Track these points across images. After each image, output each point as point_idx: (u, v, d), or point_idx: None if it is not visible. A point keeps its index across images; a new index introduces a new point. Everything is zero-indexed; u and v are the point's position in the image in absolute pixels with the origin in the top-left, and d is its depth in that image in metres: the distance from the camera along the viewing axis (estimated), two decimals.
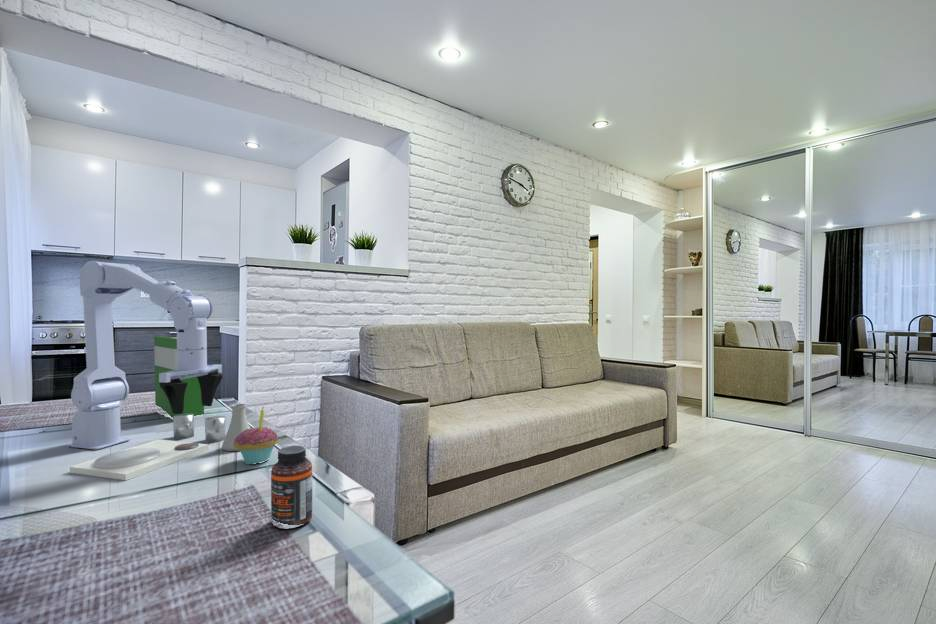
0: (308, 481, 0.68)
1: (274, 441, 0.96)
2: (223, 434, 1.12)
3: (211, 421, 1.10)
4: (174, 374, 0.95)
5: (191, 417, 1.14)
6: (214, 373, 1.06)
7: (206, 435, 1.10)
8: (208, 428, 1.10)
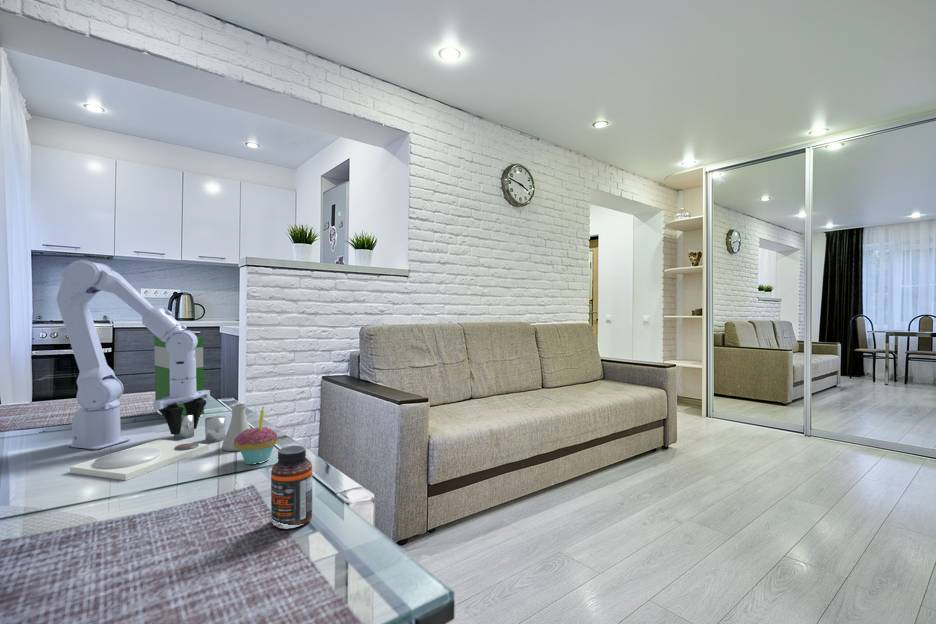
0: (308, 481, 0.68)
1: (274, 441, 0.96)
2: (223, 434, 1.12)
3: (211, 421, 1.10)
4: (167, 401, 1.09)
5: (191, 417, 1.14)
6: None
7: (206, 435, 1.10)
8: (208, 428, 1.10)
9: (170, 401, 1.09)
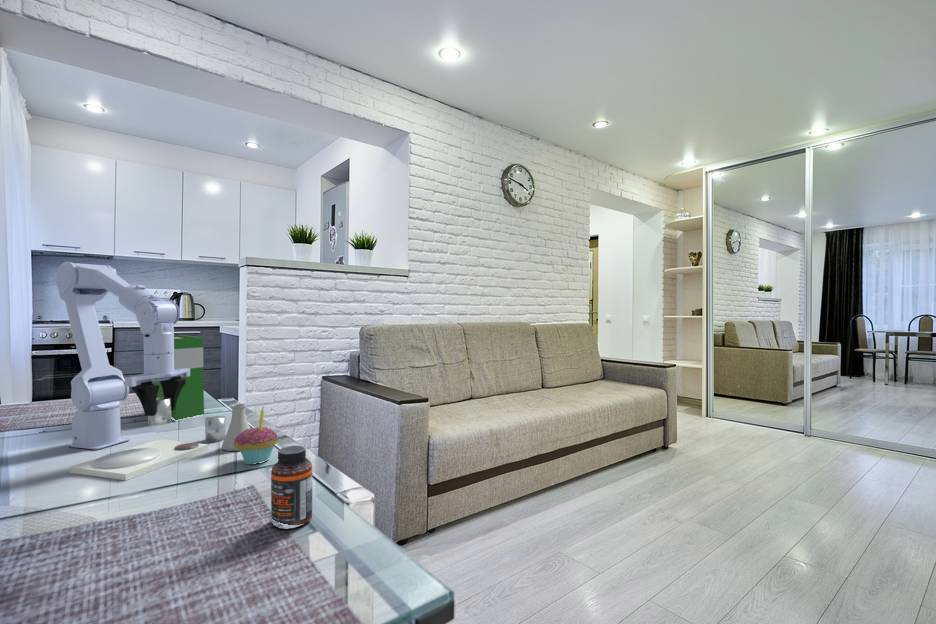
0: (308, 481, 0.68)
1: (274, 441, 0.96)
2: (223, 434, 1.12)
3: (211, 421, 1.10)
4: (140, 378, 0.97)
5: (166, 401, 1.02)
6: None
7: (206, 435, 1.10)
8: (208, 428, 1.10)
9: (144, 378, 0.97)
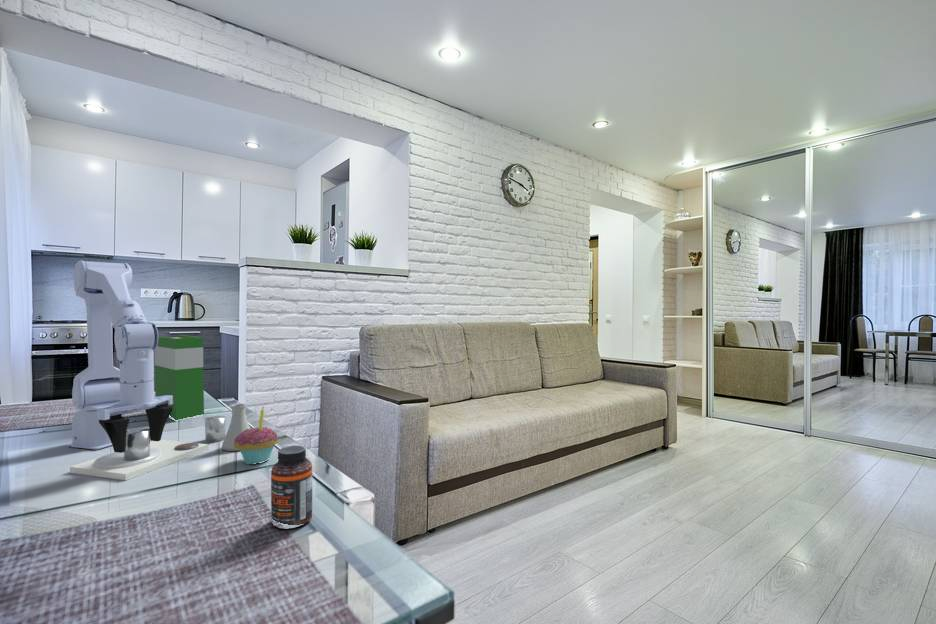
0: (308, 481, 0.68)
1: (274, 441, 0.96)
2: (223, 434, 1.12)
3: (211, 421, 1.10)
4: (114, 410, 0.88)
5: (143, 434, 0.93)
6: (163, 405, 0.98)
7: (206, 435, 1.10)
8: (208, 428, 1.10)
9: (119, 410, 0.88)
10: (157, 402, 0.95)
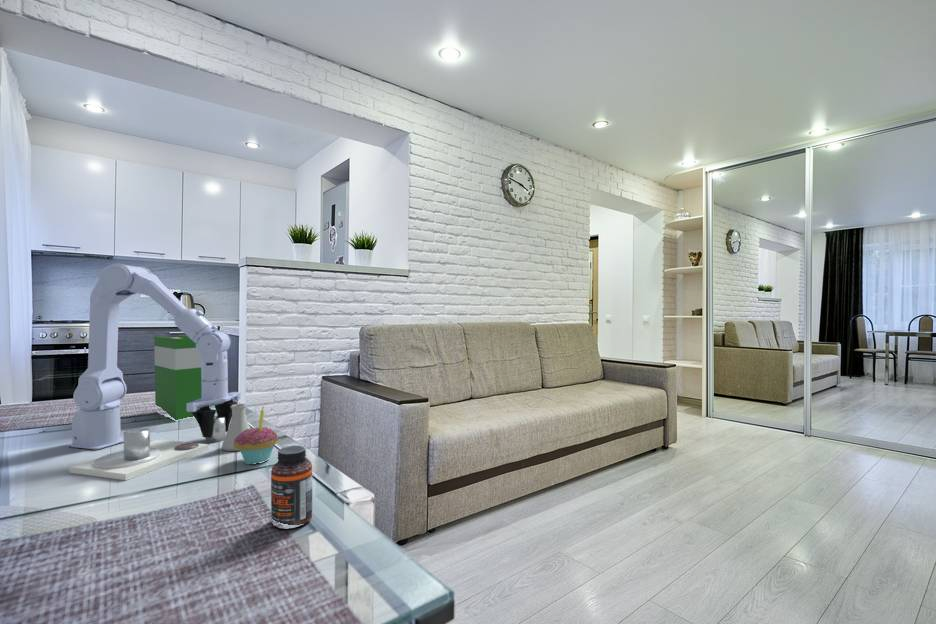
0: (308, 481, 0.68)
1: (274, 441, 0.96)
2: (223, 434, 1.12)
3: None
4: (200, 404, 1.06)
5: (143, 434, 0.93)
6: None
7: None
8: None
9: (203, 403, 1.07)
10: (230, 397, 1.13)
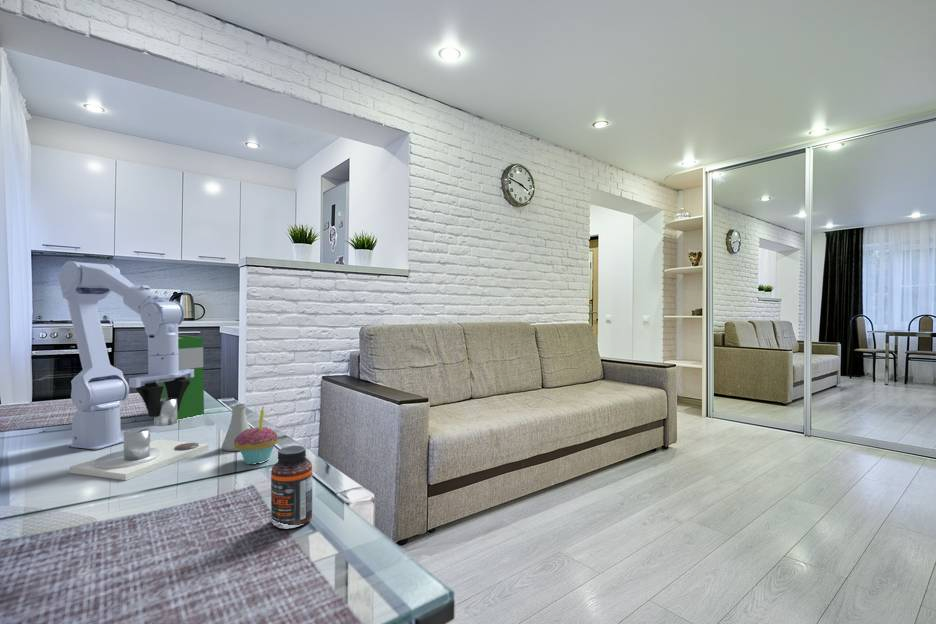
0: (308, 481, 0.68)
1: (274, 441, 0.96)
2: (175, 417, 1.02)
3: (161, 402, 1.00)
4: (144, 379, 0.97)
5: (143, 434, 0.93)
6: None
7: (155, 418, 1.00)
8: None
9: (148, 379, 0.97)
10: (181, 374, 1.04)
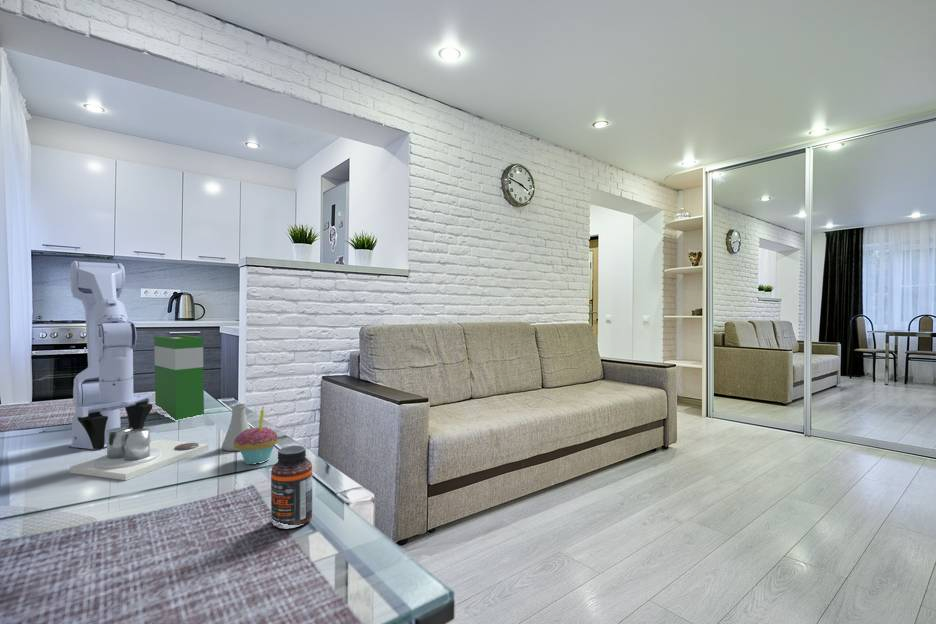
0: (308, 481, 0.68)
1: (274, 441, 0.96)
2: None
3: (115, 433, 0.93)
4: (93, 408, 0.89)
5: (143, 434, 0.93)
6: (143, 403, 1.00)
7: (108, 450, 0.93)
8: (111, 441, 0.93)
9: (97, 407, 0.90)
10: (136, 400, 0.97)
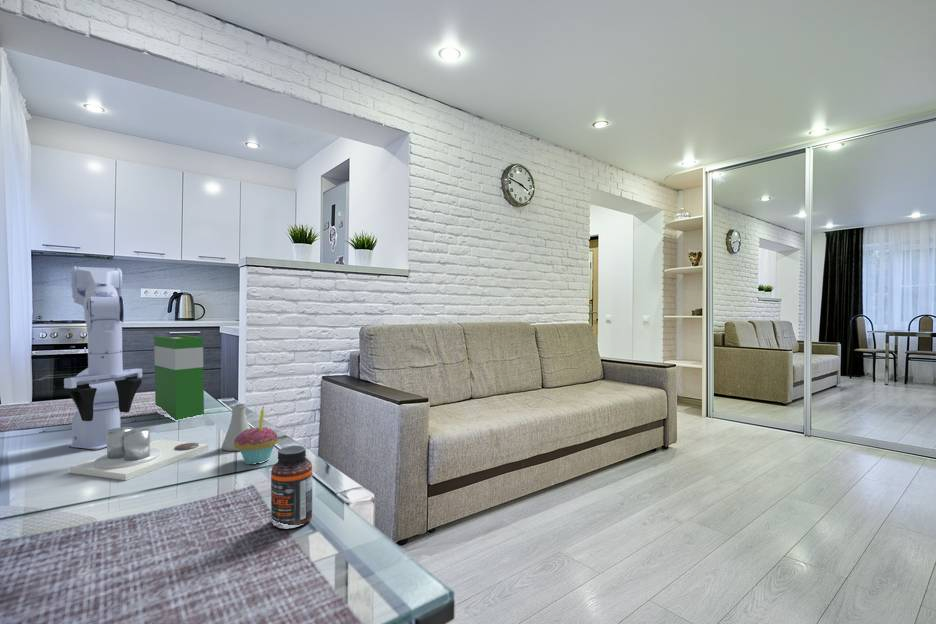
0: (308, 481, 0.68)
1: (274, 441, 0.96)
2: None
3: (115, 433, 0.93)
4: (81, 379, 0.90)
5: (143, 434, 0.93)
6: (133, 378, 1.01)
7: (108, 450, 0.93)
8: (111, 441, 0.93)
9: (86, 379, 0.91)
10: (125, 374, 0.98)
